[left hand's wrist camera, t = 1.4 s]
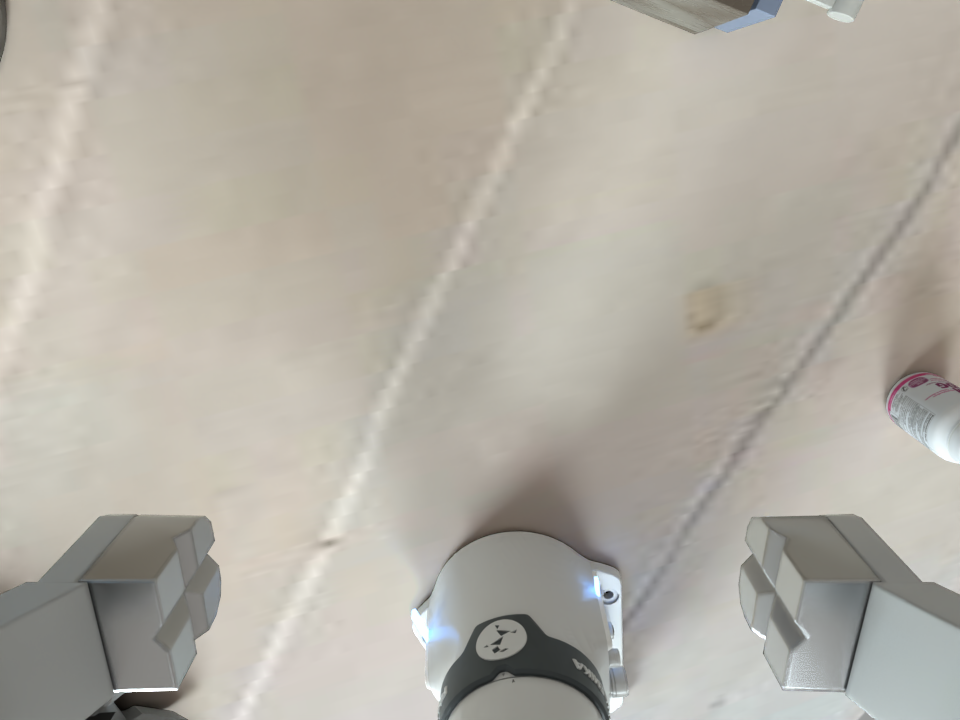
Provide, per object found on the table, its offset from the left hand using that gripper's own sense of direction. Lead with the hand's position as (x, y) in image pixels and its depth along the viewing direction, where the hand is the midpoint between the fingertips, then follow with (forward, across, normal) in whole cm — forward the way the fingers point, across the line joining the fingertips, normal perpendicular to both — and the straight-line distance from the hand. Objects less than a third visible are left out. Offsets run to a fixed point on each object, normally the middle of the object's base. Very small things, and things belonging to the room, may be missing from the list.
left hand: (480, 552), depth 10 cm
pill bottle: (+40, +34, -15) cm, 54 cm away
